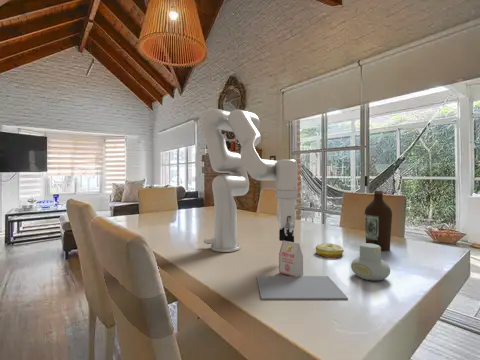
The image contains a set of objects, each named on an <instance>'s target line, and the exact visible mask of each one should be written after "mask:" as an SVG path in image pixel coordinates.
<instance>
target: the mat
mask: <svg viewBox="0 0 480 360" xmlns="http://www.w3.org/2000/svg"><path fill="white" fill-rule="evenodd" d="M256 280H257V285H258V290H259V295H260V300H263V301H264V300H265V301H268V300H269V301H270V300H271V301H272V300H275V301H276V300H286V301H287V300H296V301H297V300H298V301H299V300H301V301H302V300H308V301H309V300H315V301H316V300H318V301H319V300H327V301H329V300H332V301H333V300H337V301H340V300H348V299H349V297H348V296H347V295H346V294H345V293H344V292H343V291H342V290H341V289H340V288H339V286H337V284H336V283H335V282H334V281H333V280H332V279H331V278H330V276H329V275H302V276H299V277H292V276H289V275H257V276H256Z"/></svg>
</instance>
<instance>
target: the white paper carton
mask: <svg viewBox="0 0 480 360" xmlns="http://www.w3.org/2000/svg"><path fill="white" fill-rule="evenodd" d="M278 273H280V274H283V275H285V276H292V277H299V276H304V256H303V252H302V249H301V245H300V243H299V242H296V241H294V242H289V241H284V240H282V241H281V246H280V250H279V251H278Z"/></svg>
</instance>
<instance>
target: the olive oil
mask: <svg viewBox="0 0 480 360" xmlns="http://www.w3.org/2000/svg"><path fill="white" fill-rule="evenodd" d="M392 220H393V212H392V209H391V207H390V206H389V204H388V203H387V202H385V200H384V193H383V190H374V193H373V199H372V201H371V202H370V203H369V204H367V205H366V207H365V210H364V224H365V243H370V244H376V245H379V246H380V247H381V252H385V251H390V250H391V240H392V239H391V236H392V233H391V232H392Z"/></svg>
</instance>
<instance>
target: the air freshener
mask: <svg viewBox="0 0 480 360" xmlns="http://www.w3.org/2000/svg"><path fill="white" fill-rule="evenodd" d="M350 269H351V271H352V272H353V273H354V274H355V275H356V276H357V277H359V278H360V279H362V280H364V279H365V281H369V280H370V282H371V281H374V282H375V281H376V282H377V281H382V280H385V279H387V278H388V277H389V276H390V274H391V268H390V266H389V264H388V263H387V262H386V261H385V260H383V259H382V251H381V247H380V246H379V245H376V244H370V243H366V242H365V243H361V244H360V245H359V256H357V257H356V258H354V259H353V260H352V261H351V263H350Z"/></svg>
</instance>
